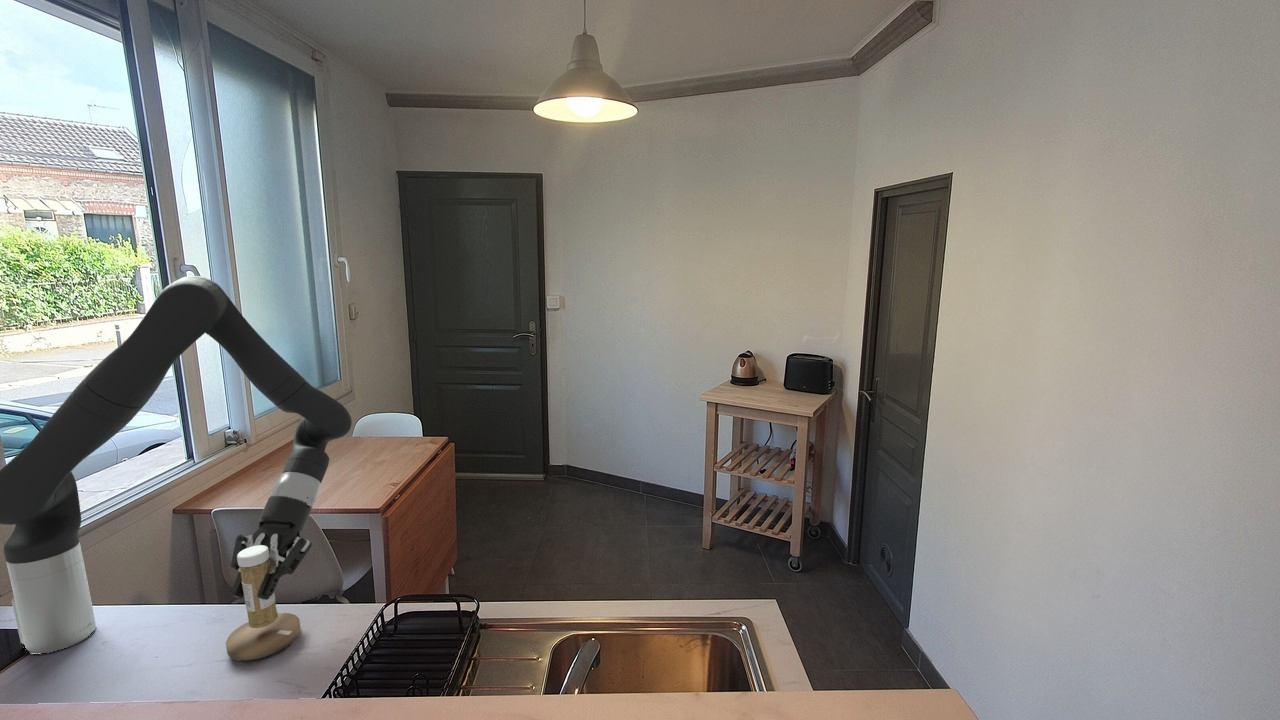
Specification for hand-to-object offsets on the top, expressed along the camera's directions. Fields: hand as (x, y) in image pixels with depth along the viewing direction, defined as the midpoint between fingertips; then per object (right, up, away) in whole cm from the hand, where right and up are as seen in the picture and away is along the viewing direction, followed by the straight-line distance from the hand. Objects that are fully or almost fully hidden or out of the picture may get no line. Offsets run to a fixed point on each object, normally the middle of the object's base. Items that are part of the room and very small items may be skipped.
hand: (249, 597), depth 100 cm
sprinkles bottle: (0, -6, +3) cm, 6 cm away
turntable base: (0, -10, +3) cm, 10 cm away
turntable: (0, -9, +3) cm, 9 cm away
